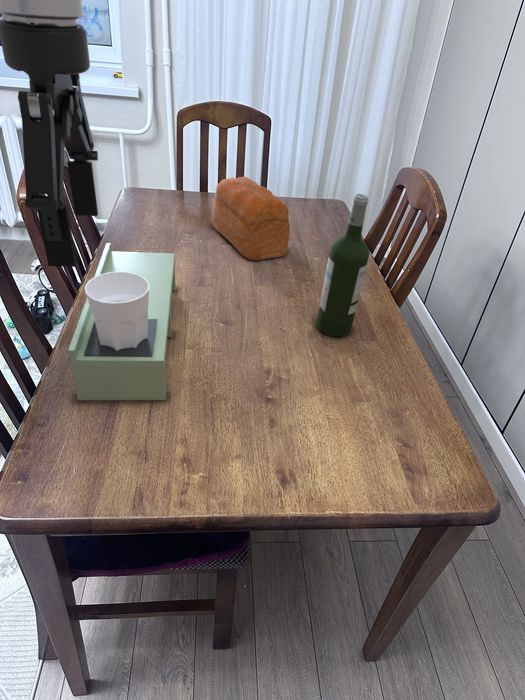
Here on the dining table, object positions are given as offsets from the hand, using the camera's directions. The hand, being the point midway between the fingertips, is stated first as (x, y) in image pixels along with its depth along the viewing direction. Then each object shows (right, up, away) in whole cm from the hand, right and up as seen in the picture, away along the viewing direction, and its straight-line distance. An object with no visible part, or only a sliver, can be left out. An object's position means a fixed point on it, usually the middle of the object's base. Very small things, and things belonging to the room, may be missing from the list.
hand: (75, 237), depth 57 cm
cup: (-2, -11, +28) cm, 30 cm away
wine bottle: (+38, -8, +52) cm, 65 cm away
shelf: (-5, -10, +43) cm, 45 cm away
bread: (+18, +19, +85) cm, 89 cm away
